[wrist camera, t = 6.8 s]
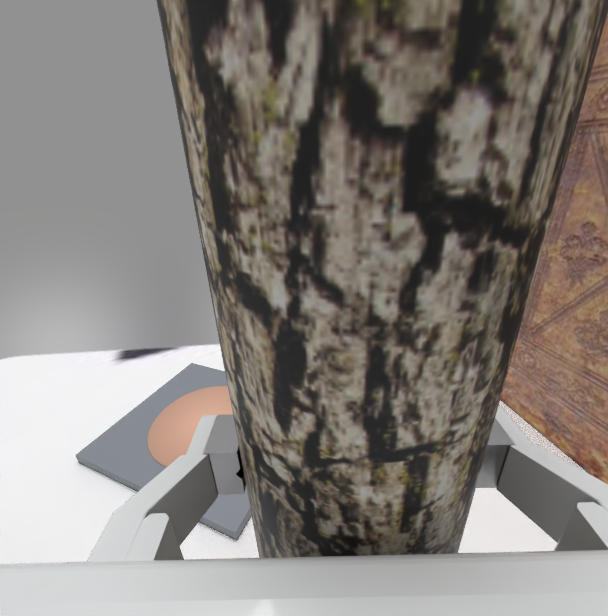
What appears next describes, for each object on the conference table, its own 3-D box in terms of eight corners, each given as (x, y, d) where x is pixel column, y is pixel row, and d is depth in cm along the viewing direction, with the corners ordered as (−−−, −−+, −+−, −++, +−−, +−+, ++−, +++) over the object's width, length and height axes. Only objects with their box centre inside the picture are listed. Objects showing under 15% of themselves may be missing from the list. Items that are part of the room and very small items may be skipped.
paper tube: (295, 557, 20) (245, 55, 9) (410, 579, 18) (509, 24, 8) (262, 735, 14) (-11, -153, 3) (429, 787, 12) (1017, -463, 2)
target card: (78, 461, 27) (74, 454, 26) (192, 368, 38) (191, 362, 38) (237, 539, 21) (235, 531, 20) (316, 401, 32) (315, 393, 32)
